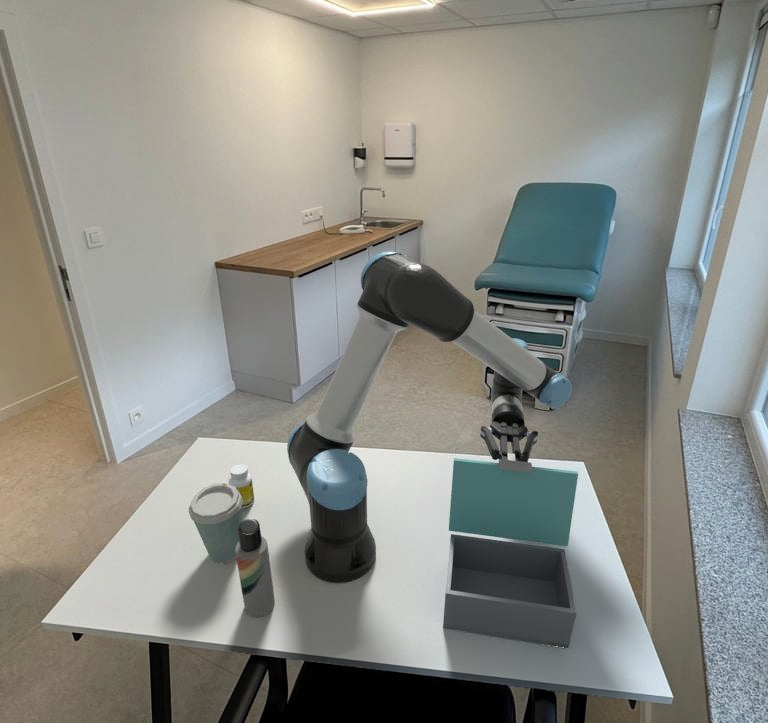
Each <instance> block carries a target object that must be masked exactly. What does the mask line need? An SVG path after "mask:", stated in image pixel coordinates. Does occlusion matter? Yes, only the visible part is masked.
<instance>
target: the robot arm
mask: <svg viewBox="0 0 768 723" xmlns="http://www.w3.org/2000/svg"><path fill="white" fill-rule="evenodd" d="M360 285H361V289H362V292H361V294H360V296H359V299H358V302H357V304H356V307H357V310H358V312H359V317H358V319H357V322H356V324H355V326H354V329H353V330H352V333H351V336H350V338H349V339H348V342H347V344H346V346H345V349H344V351H343V353H342V355H341V357H340V360H339V362H338V363H337V364H338V365H337V366H336V369H335V370H334V373H333V375H332V378H331V379H330V382H329V384H328V387H327V389H326V391H325V394H324V396H323V397H322V400H321V403H320V404H319V406H318V409H317V411H316V412H315V413H312V414H309V415H308V416H306V418H305V421H303V422H302V423H301V424H299V425H297V426H296V427H295V428H294V429H293V430H292V432H291V433H290V435H289V438H288V439H287V440H288V441H287V444H286V450H287V452H286V453H287V456H288V460H289V464H290V465H291V467H292V469H293V471H294V473H295V475H296V477H297V479H298V481H299V482H298V483H299V484H300V486H301V488H302V491H303V492H304V495H305V496H306V498H307V501H308V506H309V507H308V508H309V515H310V527H311V528H310V529H309V530H310V531H309V534H308V536H307V540H306V542H305V545H304V546H305V547H304V559H305V564H306V566H307V569H308V571H310V573H311V574H312V575H313V576H314V577H315V578H318V579H320V580H322V581H324V582H326V583H327V582H328V583H332V584H333V583H334V584H344V583H349V582H352V581H355V580H357V579H359V578H361V577H363V576H364V575H366V574H367V573H368V572H369V571H370V570H371V568H372V567H373V565H374V563H375V561H376V556H377V548H376V547H377V546H376V545H377V544H376V540H375V538H374V535H373V533H372V531H371V529H370V527H369V525H368V477H367V471H366V470H367V469H366V468H365V464H364V463H363V461H362V459H361V458H360V457H359V456H358V455H356V454H355V453H353V452H351V451H350V450H351V447H352V445H353V443H354V441H355V439H356V436H355V433H354V430H353V428H354V425H355V423H356V422H357V418H358V417H359V414H360V412H361V410H362V408H363V406H364V404H365V402H366V400H367V398H368V395H369V393H370V391H371V389H372V387H373V385H374V382H375V380H376V378H377V376H378V375H379V372H380V369H381V368H382V365H383V364H384V361H385V359H386V357H387V355H388V352H389V350H390V348H391V347H392V345H393V342H394V339H395V337H396V335H397V334H398V333H399V332H402V331H404V330H407V329H408V327H409V325H410V326H413V327H414V328H416V329H418V330H420V331H423V332H424V333H427V334H429V335H431V336H433V337H435V338H436V339H437V340H439V341H440V342H442V343H444V344H445V343H446V344H448V343H449V344H451V343H453V344H455V345H456V346H457V347H459V348H460V349H462V350H463V351H465V352H466V353H468V354H469V355H471V356H472V357H473V358H474V359H476V360H478V361H479V362H481V363H483V365H485V366H487V367H489V368H490V369H492V370H493V371H494V372H493V379H492V385H491V388H490V399H491V424H490V425H489V427H487V426H486V425H481V426H480V431H479V432H480V438H481V439H483V440H484V441H485V442H484V443H485V445H486V446H487V449H488V452H489V454H490V456H491V459H492V460H494V461H497V460H499V459H502V460H512V461H521V462H529V459H530V455H531V452H532V449H533V446H534V445H536V444H537V442H538V436H539V431H537V430H533V431H529V429H528V427H527V426H526V424H525V416H524V409H523V402H522V400H523V399H522V398H523V397H522V396H523V392H526V393H527V394H528V395H530V396H532V397H533V398H534V399H536V400H537V401H539V402H540V403H541V404H542V405H545V406H547V407H549V408H551V409H552V408H553V409H556V408H560V407H562V406H564V405H565V403H566V402H567V401H568V399H569V398H571V395H572V392H573V385H572V383H571V380H570V379H568V378H567V377H565V376H564V375H563V374H562V373H559V372H557V371H556V370H554V369H553V368H551V367H550V366H549V365H547V364H546V363H545V362H543V361H542V360H541V359H539V358H538V357H537V356H535V355H534V354H533V353H532V352H530V351H529V345H528V344H527V342H526V341H524V340H523V339H520V338H515V337H514V338H512V337H510V335H508V334H506V333H505V332H504V331H503V330H501V329H500V328H498V327H497V326H496V325H494V324H493V323H492V322H490V321H489V320H488V319H487V318H485V317H484V316H483V315H481V314H480V313H479V312H477V310H476V309H475V308H476V307H475V304H474V302H473V301H472V300H471V299H470V298H468V297H467V296H465V295H464V294H463V293H462V292H461V291H460V290H459V289H458V288H456V286H454V285H453V284H452V283H451V282H450V281H448V279H446V278H445V277H444V276H443V275H442V274H441V273H439V272H438V271H437V270H436V269H434V267H431V266H430V265H427V264H425V263H423V262H421V261H418V260H416V259H415V258H413V257H410V256H409V255H408V254H406V253H405V254H404V253H402V252H396V251H383V252H380V253H379V254H376V255H375V256H372V258H370V259H369V260H368V261H367V262H366V264H365V265H364V267H363V269H362V271H361V274H360ZM495 438H496V439H497V440H499V446H500V447H499V446H498V444H497V442H496V439H495ZM525 438H526V442H525V445H524V448H523V451H522V450H521V447H520V441H521V440H523V439H525ZM508 443H510V444H511V451H512V453H509V451H508ZM499 448H500V449H499Z"/></svg>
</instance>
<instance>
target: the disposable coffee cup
mask: <svg viewBox="0 0 768 723" xmlns="http://www.w3.org/2000/svg"><path fill="white" fill-rule="evenodd" d="M242 502H243V500H242V497H241V495H240V493H239V492H238V490H236V488H235V486H232V485H229V483H223V482H222V483H213V484H210V485H208V486H205V487H203V488H202V489H201V490H200V491H199V492H197V493H196V494H195V495H194V496H193V498H192V500H191V502H190V505H189V506H188V513H189V516H190V519H191V520H192V521H193V522H194V526H195V527H196V529H197V531H198V534H199V536H200V538H201V540H202V542H203V545H204V547H205V549H206V552H207V554H208V556H209V558H210V560H212V562H215V563H216V564H226V563H229V562H231V561H234V560H235V559H236V552H235V549H236V545H237V543H238V542H239V537H238V530H237V528H238V526H239V525H240V524H241V522H242V521H243V520H242V519H243V518H242V517H243V516H242V514H243V513H242V510H243V509H242Z"/></svg>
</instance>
